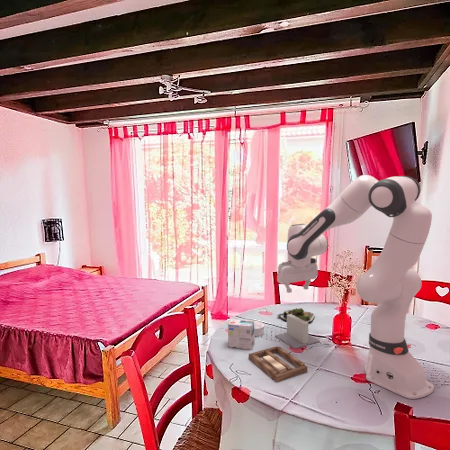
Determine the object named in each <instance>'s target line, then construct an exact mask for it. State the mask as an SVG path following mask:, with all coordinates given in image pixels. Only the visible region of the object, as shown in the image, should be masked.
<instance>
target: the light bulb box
mask: <svg viewBox="0 0 450 450" xmlns="http://www.w3.org/2000/svg"><path fill="white" fill-rule="evenodd" d="M254 321H255V320H251V319H237V318H231V319H230V320H229V322H228V323H227V338H228V339H227V340H228V341H227V343H228V346H229V347H228V346H227V347H228V348H232V347H236V348H235V349H241V348H242V349H243V350H249V351H250V350H252V349H253V348H254V346H255V345H256V344H255V341H256V340H255V337H256V336H255V335H254ZM242 349H241V350H242Z"/></svg>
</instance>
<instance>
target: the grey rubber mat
mask: <svg viewBox="0 0 450 450" xmlns="http://www.w3.org/2000/svg"><path fill="white" fill-rule="evenodd" d="M275 338H277V339H278V340H280V341H281V342H283V343H285V345H288V346H289V347H291V348H292V349H294V350H297V349H301V348H304V347H307V346H310V345H311V346H312V345H313V344H317V343H320V340H319V339H317V338H315V337H314V336H312V335H310V334H309V333H308V343H305V344H303V343H301V342H300V341H298V340H297V339H295V338H293V337H292V336H290V335H288V334H287V332H283V333H279V334H276V335H275Z"/></svg>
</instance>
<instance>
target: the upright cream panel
mask: <svg viewBox="0 0 450 450" xmlns="http://www.w3.org/2000/svg"><path fill="white" fill-rule="evenodd" d="M286 333H287V334H288V335H290V336H292V337H293V338H295V339H297V340H298V341H300V342H301V343H303V344H305V343H308V334H309V324H308V322H306V321H304V320H302V319H300V318H298V317H296V316H294V315H292V314H289V315H287V322H286Z"/></svg>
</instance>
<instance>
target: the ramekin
mask: <svg viewBox="0 0 450 450" xmlns="http://www.w3.org/2000/svg"><path fill="white" fill-rule="evenodd" d="M264 329H265V324H264V322H262V321H259V320H254V335H255V337H260V336H263V334H264V332H265V331H264Z"/></svg>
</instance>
